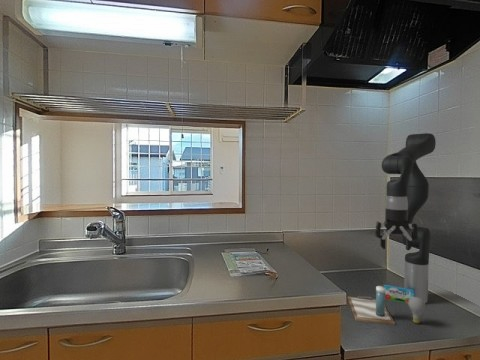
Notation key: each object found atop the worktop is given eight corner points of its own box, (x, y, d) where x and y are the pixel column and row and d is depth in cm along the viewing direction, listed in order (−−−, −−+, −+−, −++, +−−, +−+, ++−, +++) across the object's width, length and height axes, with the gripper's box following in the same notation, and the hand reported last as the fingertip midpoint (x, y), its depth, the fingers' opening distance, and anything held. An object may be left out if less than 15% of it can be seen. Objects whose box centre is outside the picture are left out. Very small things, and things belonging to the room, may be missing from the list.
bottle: (378, 311, 117) (378, 285, 116) (386, 315, 114) (387, 287, 114) (373, 314, 115) (374, 287, 114) (382, 317, 112) (382, 290, 111)
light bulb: (404, 320, 112) (405, 295, 111) (414, 318, 114) (415, 293, 113) (417, 328, 107) (418, 301, 106) (428, 325, 108) (428, 299, 108)
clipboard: (347, 298, 131) (347, 294, 131) (380, 301, 128) (380, 298, 128) (355, 320, 112) (355, 316, 112) (395, 325, 109) (395, 320, 109)
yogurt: (383, 298, 131) (383, 285, 131) (383, 297, 132) (383, 284, 132) (413, 305, 125) (414, 291, 125) (413, 303, 127) (414, 289, 126)
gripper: (378, 208, 109) (378, 250, 109) (420, 209, 105) (419, 253, 106) (374, 205, 116) (373, 245, 117) (413, 206, 113) (412, 247, 113)
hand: (395, 249), depth 111 cm, fingers open, 8 cm apart
